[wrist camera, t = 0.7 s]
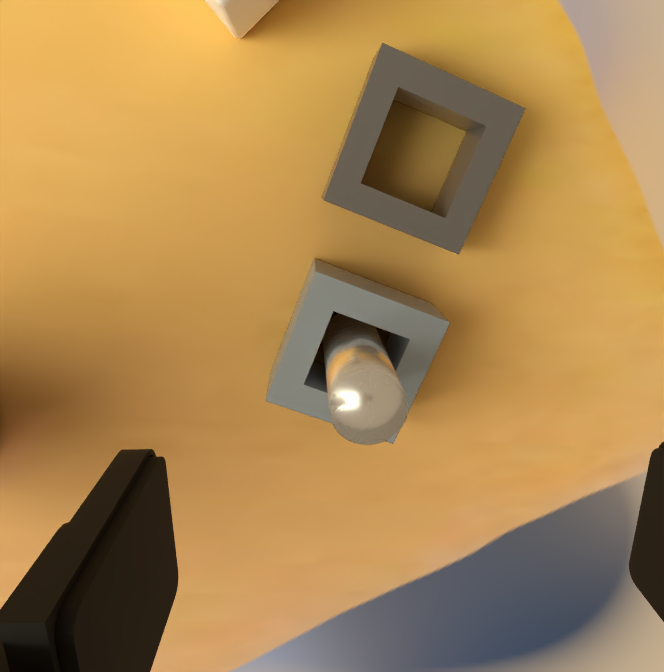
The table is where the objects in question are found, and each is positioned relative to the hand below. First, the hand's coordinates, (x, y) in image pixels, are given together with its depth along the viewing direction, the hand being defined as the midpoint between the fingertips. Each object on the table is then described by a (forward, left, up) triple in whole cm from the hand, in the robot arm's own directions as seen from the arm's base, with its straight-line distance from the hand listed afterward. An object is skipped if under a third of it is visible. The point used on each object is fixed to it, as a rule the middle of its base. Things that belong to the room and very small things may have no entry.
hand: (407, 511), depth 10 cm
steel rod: (-4, -3, -28) cm, 28 cm away
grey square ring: (+9, -2, -28) cm, 29 cm away
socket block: (-4, -3, -28) cm, 28 cm away
